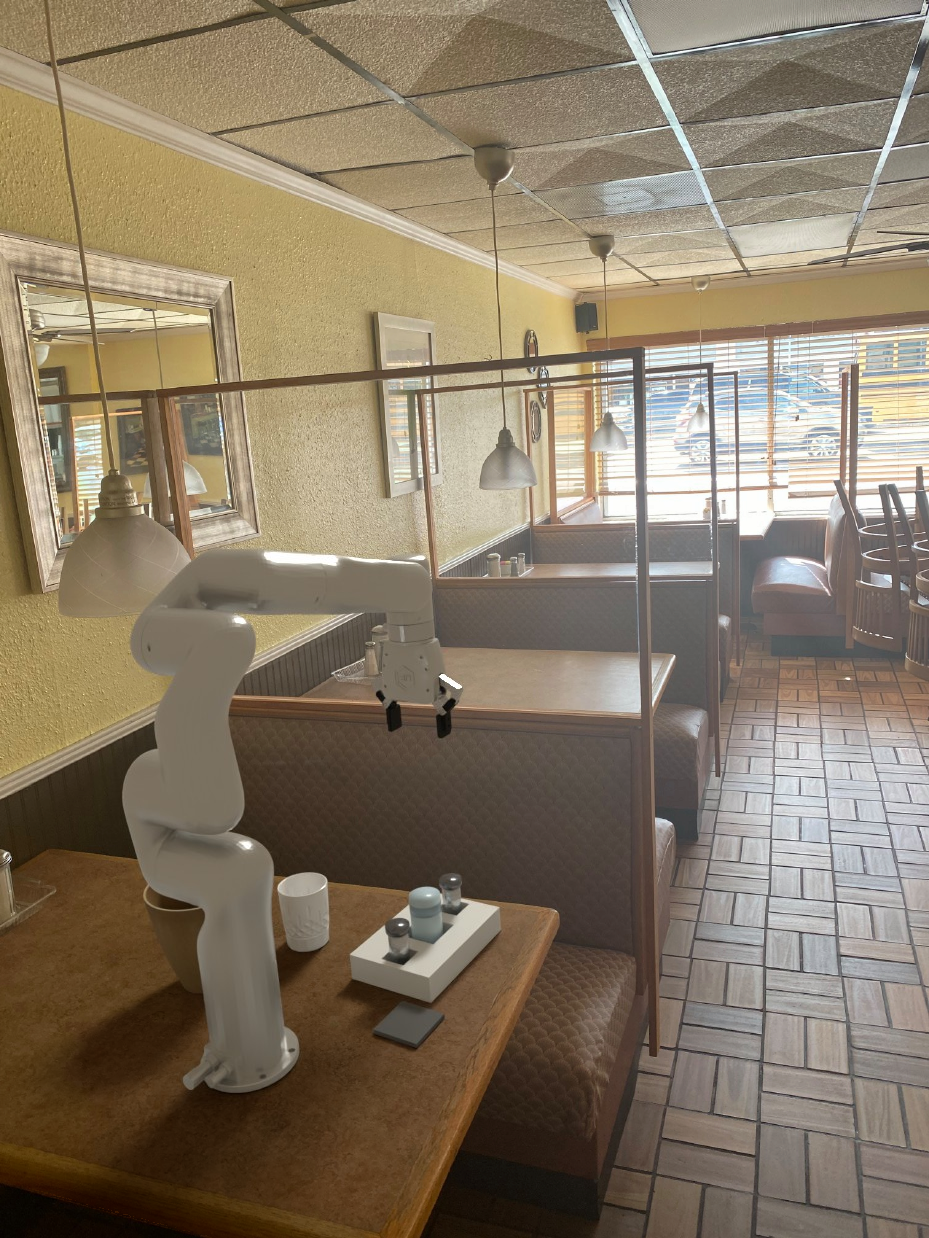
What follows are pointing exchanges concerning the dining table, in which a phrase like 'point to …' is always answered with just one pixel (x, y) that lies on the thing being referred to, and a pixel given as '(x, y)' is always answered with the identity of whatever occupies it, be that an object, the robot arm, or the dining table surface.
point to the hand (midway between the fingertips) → (419, 732)
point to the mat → (409, 1024)
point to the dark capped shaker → (451, 893)
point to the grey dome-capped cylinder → (398, 940)
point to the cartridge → (426, 914)
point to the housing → (428, 953)
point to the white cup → (305, 910)
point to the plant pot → (177, 935)
